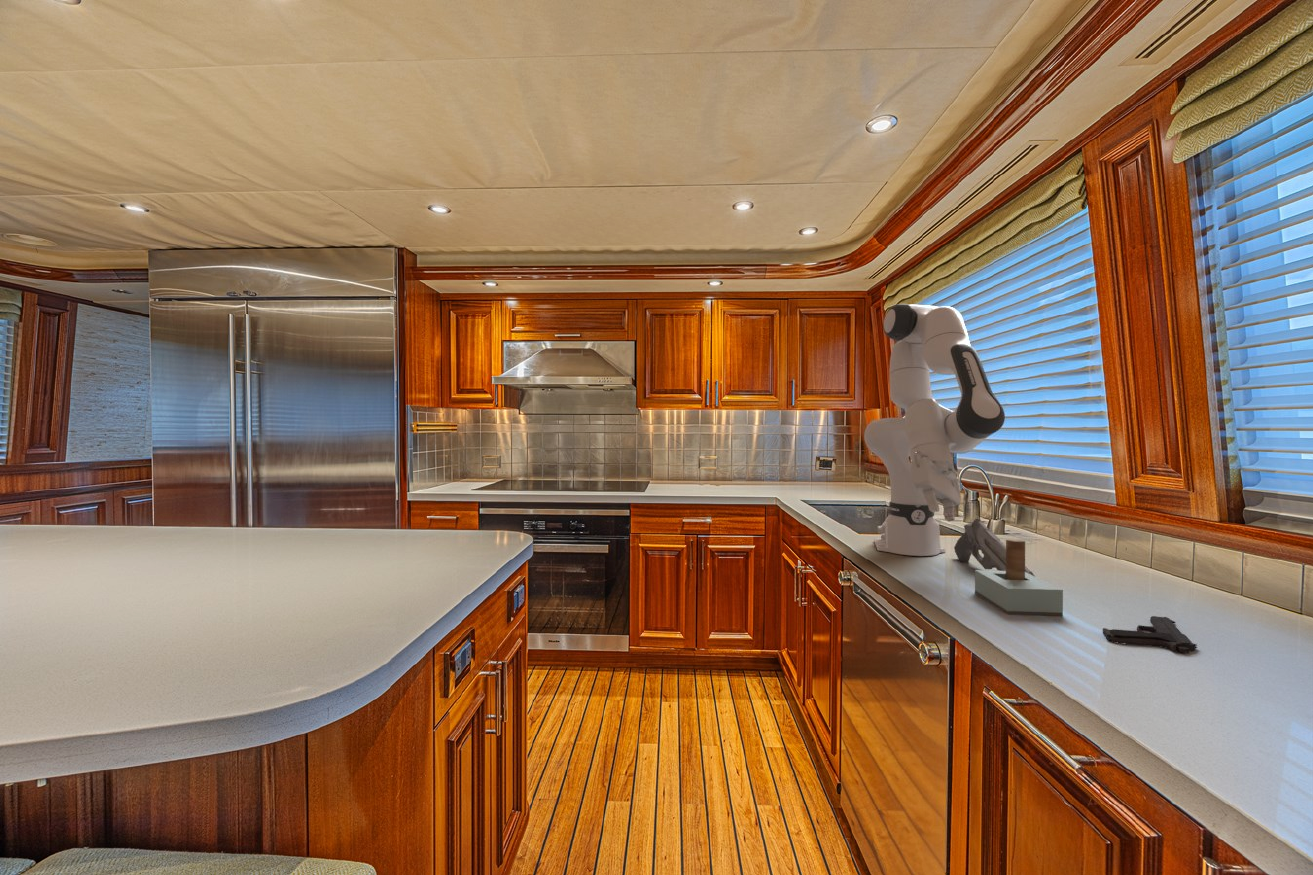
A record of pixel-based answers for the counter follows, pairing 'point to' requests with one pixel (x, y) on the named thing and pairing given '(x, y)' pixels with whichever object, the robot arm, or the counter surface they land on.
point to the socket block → (1019, 594)
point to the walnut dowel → (1015, 559)
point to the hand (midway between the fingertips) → (942, 516)
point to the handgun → (1153, 635)
